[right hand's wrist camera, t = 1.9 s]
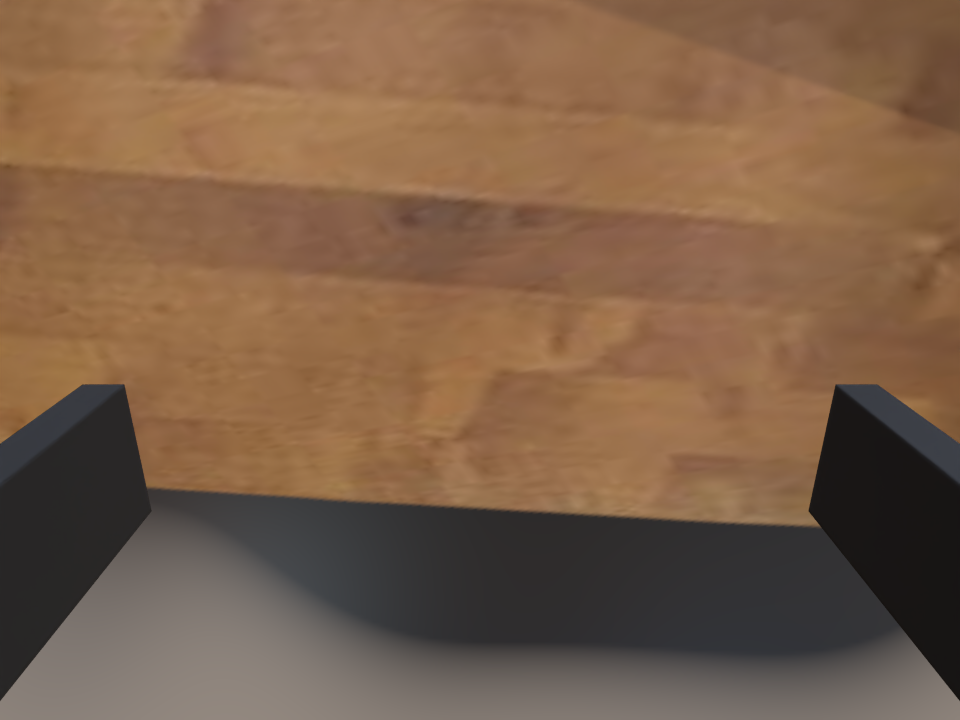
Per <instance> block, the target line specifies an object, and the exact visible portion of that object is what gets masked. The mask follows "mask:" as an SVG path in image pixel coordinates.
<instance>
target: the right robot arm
mask: <svg viewBox="0 0 960 720" xmlns="http://www.w3.org/2000/svg"><path fill="white" fill-rule="evenodd" d="M150 512H151V507H150V502H149V497H148V493H147V488H146V483H145V479H144V474H143V469H142V465H141V460H140V455H139V451H138V446H137V441H136V437H135V432H134V427H133V423H132V418H131V413H130V409H129V404H128V400H127V395H126V390H125V386H124V385H81V386H80V387H79V388H77V389H76V390H74V391H73V392H72V393H70V394H69V395H68V396H66V397H65V398H63V399H62V400H61V401H59V402H58V403H56V404H55V405H54V406H52V407H51V408H49V409H48V410H47V411H45V412H44V413H43V414H41V415H40V416H38V417H37V418H36V419H34V420H33V421H31V422H30V423H29V424H27V425H26V426H24V427H23V428H22V429H20V430H19V431H17V432H16V433H15V434H13V435H12V436H11V437H9V438H8V439H6V440H5V441H4V442H2V443H1V444H0V700H1V699H2V698H3V697H4V695H5V694H6V693H7V692H8V690H9V689H10V688H11V687H12V685H13V684H14V683H15V682H16V680H17V679H18V678H19V677H20V675H21V674H22V673H23V672H24V670H25V669H26V668H27V667H28V665H29V664H30V663H31V661H32V660H33V659H34V658H35V657H36V655H37V654H38V653H39V652H40V650H41V649H42V648H43V647H44V645H45V644H46V643H47V641H48V640H49V639H50V638H51V636H52V635H53V634H54V633H55V631H56V630H57V629H58V628H59V626H60V625H61V624H62V623H63V621H64V620H65V619H66V618H67V616H68V615H69V614H70V613H71V611H72V610H73V609H74V608H75V606H76V605H77V604H78V603H79V601H80V600H81V599H82V598H83V596H84V595H85V594H86V593H87V591H88V590H89V589H90V588H91V586H92V585H93V584H94V582H95V581H96V580H97V579H98V578H99V576H100V575H101V574H102V572H103V571H104V570H105V569H106V567H107V566H108V565H109V564H110V562H111V561H112V560H113V559H114V557H115V556H116V555H117V554H118V552H119V551H120V550H121V549H122V547H123V546H124V545H125V544H126V542H127V541H128V540H129V539H130V537H131V536H132V535H133V534H134V532H135V531H136V530H137V529H138V527H139V526H140V525H141V524H142V522H143V521H144V520H145V519H146V517H147V516H148V515H149V514H150ZM809 512H810V514H811V515H812V516H813V517H814V519H815V520H816V521H817V522H818V524H819V525H820V526H821V527H822V529H823V530H824V531H825V532H826V534H827V535H828V536H829V537H830V539H831V540H832V541H833V542H834V544H835V545H836V546H837V547H838V549H839V550H840V551H841V552H842V554H843V555H844V556H845V557H846V559H847V560H848V561H849V562H850V564H851V565H852V566H853V567H854V569H855V570H856V571H857V572H858V574H859V575H860V576H861V578H862V579H863V580H864V581H865V582H866V584H867V585H868V586H869V588H870V589H871V590H872V591H873V593H874V594H875V595H876V596H877V598H878V599H879V600H880V601H881V603H882V604H883V605H884V606H885V608H886V609H887V610H888V611H889V613H890V614H891V615H892V616H893V618H894V619H895V620H896V621H897V623H898V624H899V625H900V626H901V628H902V629H903V630H904V631H905V633H906V634H907V635H908V636H909V638H910V639H911V640H912V642H913V643H914V644H915V645H916V647H917V648H918V649H919V650H920V651H921V653H922V654H923V655H924V657H925V658H926V659H927V660H928V662H929V663H930V664H931V665H932V667H933V668H934V669H935V670H936V672H937V673H938V674H939V675H940V677H941V678H942V679H943V680H944V682H945V683H946V684H947V685H948V687H949V688H950V689H951V690H952V692H953V693H954V694H955V695H956V697H957V698H958V699H959V700H960V444H959V443H958V442H956V441H955V440H954V439H952V438H951V437H949V436H948V435H947V434H945V433H944V432H943V431H941V430H940V429H938V428H937V427H936V426H934V425H933V424H931V423H930V422H929V421H927V420H926V419H924V418H923V417H922V416H920V415H919V414H917V413H916V412H915V411H913V410H912V409H911V408H909V407H908V406H906V405H905V404H904V403H902V402H901V401H899V400H898V399H897V398H895V397H894V396H892V395H891V394H890V393H888V392H887V391H886V390H884V389H883V388H881V387H880V386H879V385H836V386H835V390H834V395H833V400H832V404H831V409H830V413H829V418H828V423H827V427H826V432H825V437H824V441H823V446H822V451H821V455H820V460H819V465H818V469H817V474H816V479H815V483H814V488H813V493H812V497H811V502H810V507H809Z"/></svg>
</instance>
